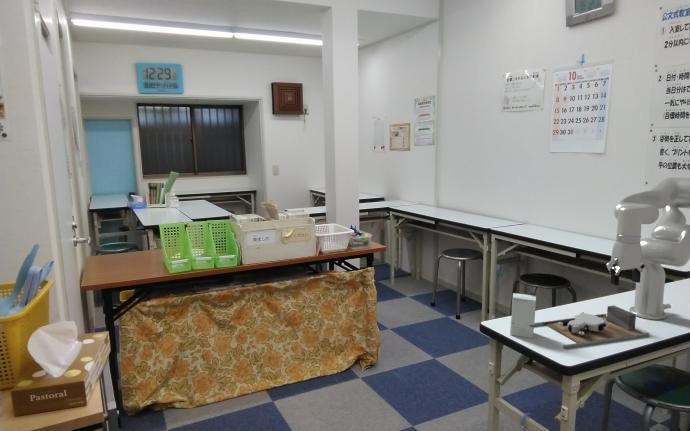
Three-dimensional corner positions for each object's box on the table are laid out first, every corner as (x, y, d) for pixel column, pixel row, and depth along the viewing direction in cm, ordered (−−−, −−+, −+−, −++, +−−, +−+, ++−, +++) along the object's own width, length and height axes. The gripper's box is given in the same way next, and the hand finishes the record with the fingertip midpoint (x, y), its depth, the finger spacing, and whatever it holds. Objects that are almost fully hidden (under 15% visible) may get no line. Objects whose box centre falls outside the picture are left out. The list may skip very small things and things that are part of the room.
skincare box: (510, 335, 165) (511, 297, 163) (510, 329, 171) (512, 292, 168) (534, 338, 162) (536, 300, 160) (534, 332, 167) (536, 294, 165)
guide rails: (605, 316, 181) (605, 313, 180) (648, 336, 161) (649, 333, 161) (527, 326, 172) (528, 323, 172) (564, 349, 153) (564, 346, 153)
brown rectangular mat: (605, 317, 180) (606, 302, 179) (645, 335, 162) (646, 318, 161) (546, 325, 173) (546, 309, 172) (580, 345, 156) (581, 327, 155)
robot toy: (582, 342, 158) (612, 332, 163) (582, 330, 157) (613, 321, 163) (555, 329, 170) (584, 320, 175) (555, 318, 169) (584, 309, 174)
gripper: (638, 235, 171) (635, 277, 174) (600, 239, 167) (598, 282, 170) (656, 239, 164) (652, 283, 166) (617, 243, 160) (614, 288, 162)
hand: (625, 283), depth 168 cm, fingers open, 9 cm apart
